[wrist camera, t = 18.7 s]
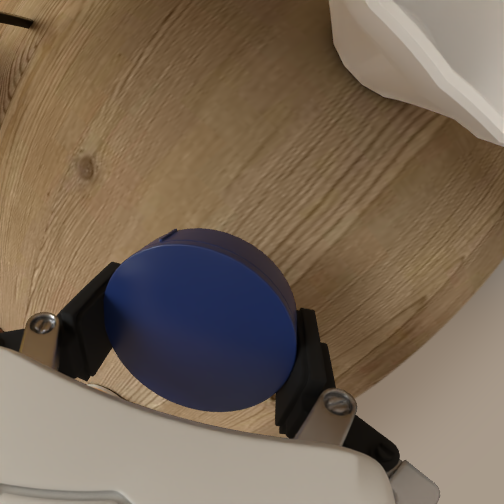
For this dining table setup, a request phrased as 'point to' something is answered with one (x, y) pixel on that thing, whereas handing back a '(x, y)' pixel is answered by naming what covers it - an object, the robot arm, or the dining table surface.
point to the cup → (429, 55)
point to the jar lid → (203, 320)
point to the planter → (15, 20)
